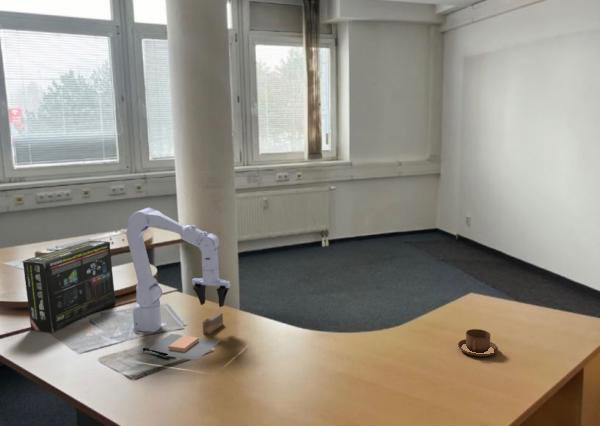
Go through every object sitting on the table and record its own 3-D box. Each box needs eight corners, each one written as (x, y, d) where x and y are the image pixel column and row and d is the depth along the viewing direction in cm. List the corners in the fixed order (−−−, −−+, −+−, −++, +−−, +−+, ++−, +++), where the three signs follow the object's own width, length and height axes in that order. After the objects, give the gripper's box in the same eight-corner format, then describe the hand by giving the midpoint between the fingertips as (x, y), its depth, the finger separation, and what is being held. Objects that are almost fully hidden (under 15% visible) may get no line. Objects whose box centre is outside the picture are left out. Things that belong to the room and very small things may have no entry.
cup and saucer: (500, 361, 162) (501, 342, 161) (459, 358, 164) (460, 339, 163) (494, 345, 173) (494, 327, 172) (456, 343, 176) (456, 325, 175)
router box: (95, 300, 227) (90, 239, 223) (116, 302, 223) (112, 241, 219) (27, 330, 194) (20, 260, 189) (51, 334, 190) (43, 262, 186)
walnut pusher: (203, 335, 187) (202, 321, 186) (217, 325, 196) (216, 312, 195) (209, 336, 186) (208, 322, 185) (223, 325, 195) (222, 313, 194)
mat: (143, 353, 172) (142, 352, 172) (170, 335, 187) (170, 334, 186) (196, 361, 165) (196, 360, 165) (221, 342, 180) (221, 340, 180)
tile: (183, 339, 181) (168, 349, 173) (183, 335, 181) (168, 346, 173) (198, 341, 179) (184, 352, 171) (198, 337, 179) (184, 348, 171)
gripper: (233, 267, 188) (235, 303, 191) (198, 264, 193) (200, 299, 195) (224, 272, 182) (226, 309, 184) (188, 269, 187) (190, 305, 189)
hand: (212, 305), depth 189 cm, fingers open, 7 cm apart
